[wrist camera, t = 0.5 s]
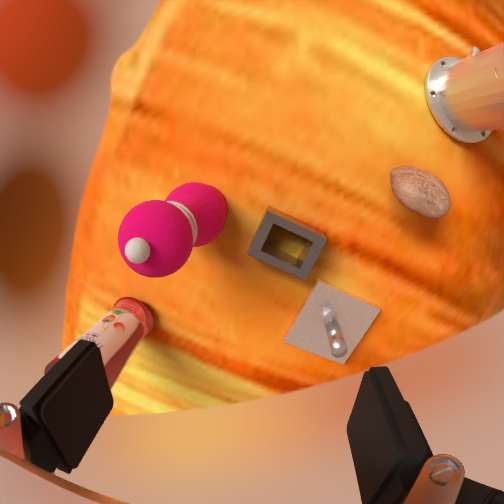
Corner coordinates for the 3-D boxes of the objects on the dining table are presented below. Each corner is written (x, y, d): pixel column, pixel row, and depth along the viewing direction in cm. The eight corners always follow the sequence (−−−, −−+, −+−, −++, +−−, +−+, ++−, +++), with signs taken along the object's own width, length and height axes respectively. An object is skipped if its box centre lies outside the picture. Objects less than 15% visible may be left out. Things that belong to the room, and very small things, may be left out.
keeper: (317, 277, 39) (324, 301, 32) (378, 305, 40) (394, 331, 33) (283, 337, 42) (283, 367, 35) (342, 359, 43) (350, 390, 36)
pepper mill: (236, 231, 39) (195, 299, 19) (182, 240, 39) (105, 308, 20) (225, 175, 37) (169, 188, 18) (171, 186, 38) (77, 211, 18)
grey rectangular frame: (249, 244, 39) (246, 254, 35) (268, 205, 37) (267, 210, 33) (302, 269, 39) (305, 280, 35) (322, 231, 38) (327, 239, 34)
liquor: (153, 292, 42) (34, 431, 15) (161, 336, 44) (72, 482, 17) (111, 291, 43) (-15, 406, 16) (121, 332, 45) (20, 457, 18)
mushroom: (370, 185, 35) (393, 191, 28) (397, 148, 34) (424, 146, 26) (411, 222, 36) (439, 236, 28) (436, 186, 34) (468, 193, 27)
